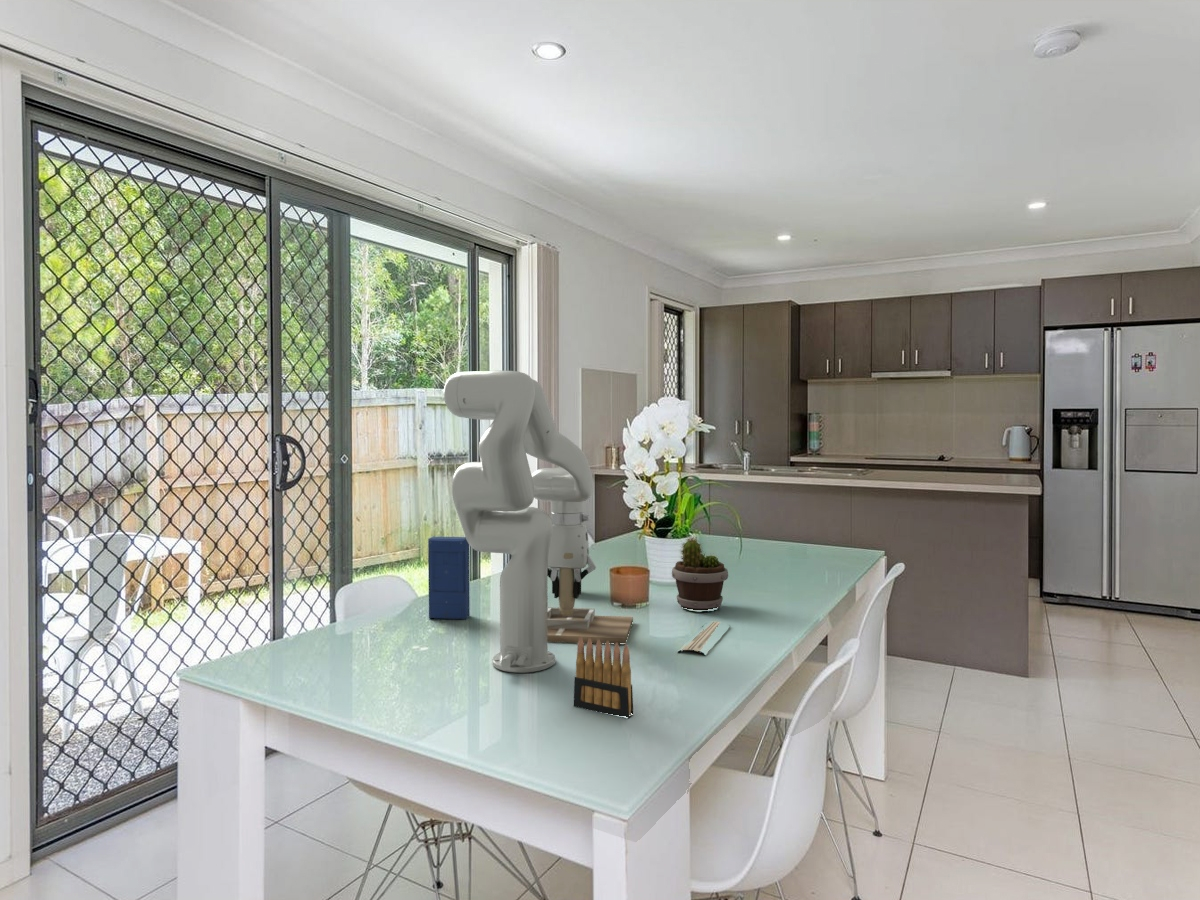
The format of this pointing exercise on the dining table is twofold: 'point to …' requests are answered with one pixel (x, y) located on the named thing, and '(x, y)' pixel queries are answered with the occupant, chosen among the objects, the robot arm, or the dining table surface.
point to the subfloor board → (587, 626)
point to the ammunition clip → (603, 680)
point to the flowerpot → (698, 578)
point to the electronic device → (448, 578)
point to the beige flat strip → (702, 638)
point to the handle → (566, 589)
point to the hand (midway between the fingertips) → (566, 596)
